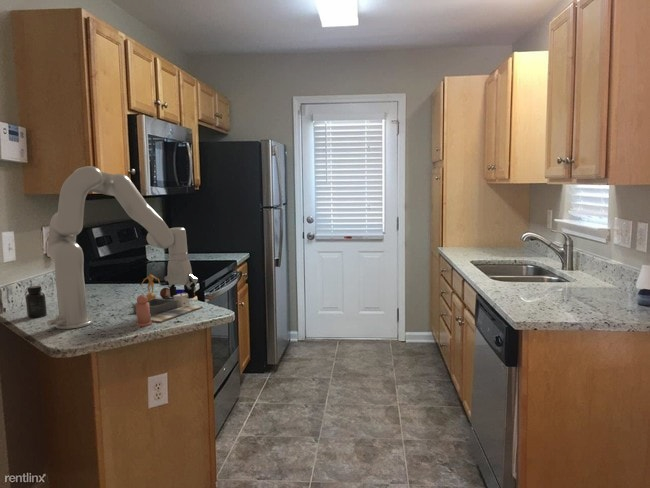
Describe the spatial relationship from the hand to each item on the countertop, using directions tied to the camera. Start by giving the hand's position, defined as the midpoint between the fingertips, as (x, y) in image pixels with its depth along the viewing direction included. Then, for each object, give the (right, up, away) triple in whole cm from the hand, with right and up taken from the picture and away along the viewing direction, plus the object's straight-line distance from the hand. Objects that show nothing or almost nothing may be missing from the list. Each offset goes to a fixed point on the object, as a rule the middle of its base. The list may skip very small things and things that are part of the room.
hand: (182, 297), depth 220 cm
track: (+1, -5, -15) cm, 16 cm away
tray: (-9, -4, -7) cm, 12 cm away
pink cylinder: (-6, -7, -29) cm, 31 cm away
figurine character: (-7, -2, +17) cm, 18 cm away
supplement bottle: (-56, -7, -10) cm, 57 cm away
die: (0, -3, 0) cm, 3 cm away
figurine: (-16, -3, +9) cm, 19 cm away
